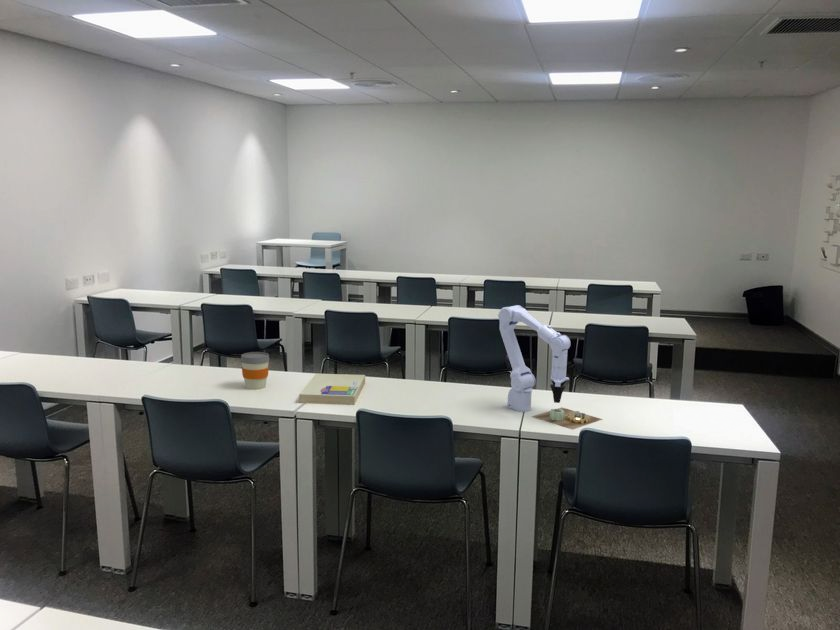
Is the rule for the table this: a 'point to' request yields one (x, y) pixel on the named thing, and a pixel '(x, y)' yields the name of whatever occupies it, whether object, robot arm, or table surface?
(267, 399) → the table surface
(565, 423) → the gear board
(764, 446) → the table surface
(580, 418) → the brass gear
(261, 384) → the reusable coffee cup
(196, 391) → the table surface
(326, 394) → the puzzle box
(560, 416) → the pale green gear
